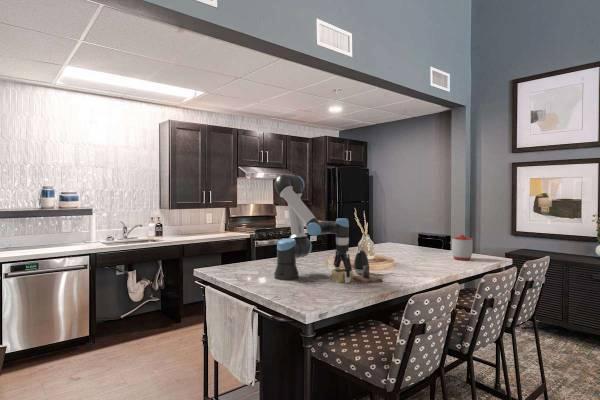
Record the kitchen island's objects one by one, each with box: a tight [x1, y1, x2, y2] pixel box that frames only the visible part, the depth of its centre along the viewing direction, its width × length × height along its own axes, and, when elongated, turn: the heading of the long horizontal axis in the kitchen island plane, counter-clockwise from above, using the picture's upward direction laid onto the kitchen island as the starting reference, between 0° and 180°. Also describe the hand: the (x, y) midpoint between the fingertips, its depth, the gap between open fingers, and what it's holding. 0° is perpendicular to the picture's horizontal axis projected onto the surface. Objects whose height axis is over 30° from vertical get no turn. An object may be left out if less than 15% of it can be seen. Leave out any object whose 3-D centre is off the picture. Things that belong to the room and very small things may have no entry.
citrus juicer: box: [449, 234, 474, 261], centre depth 290 cm, size 16×17×20 cm
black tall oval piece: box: [352, 249, 370, 275], centre depth 237 cm, size 10×10×15 cm
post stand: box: [353, 265, 384, 285], centre depth 219 cm, size 14×14×8 cm
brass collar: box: [331, 267, 354, 284], centre depth 218 cm, size 10×10×6 cm
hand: (342, 280), depth 218 cm, fingers open, 12 cm apart
